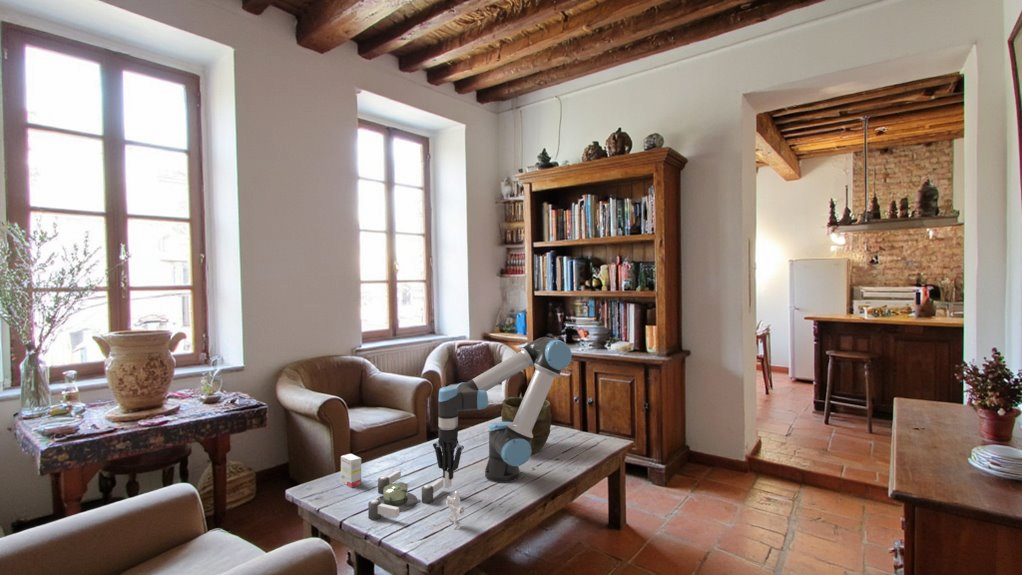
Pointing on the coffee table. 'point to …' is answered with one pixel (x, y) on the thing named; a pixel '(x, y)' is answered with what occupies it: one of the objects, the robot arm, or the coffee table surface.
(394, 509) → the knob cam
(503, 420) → the clay pot
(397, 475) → the knob far
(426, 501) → the knob near
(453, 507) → the figurine
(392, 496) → the base
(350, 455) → the ink box
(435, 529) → the coffee table surface
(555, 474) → the coffee table surface
